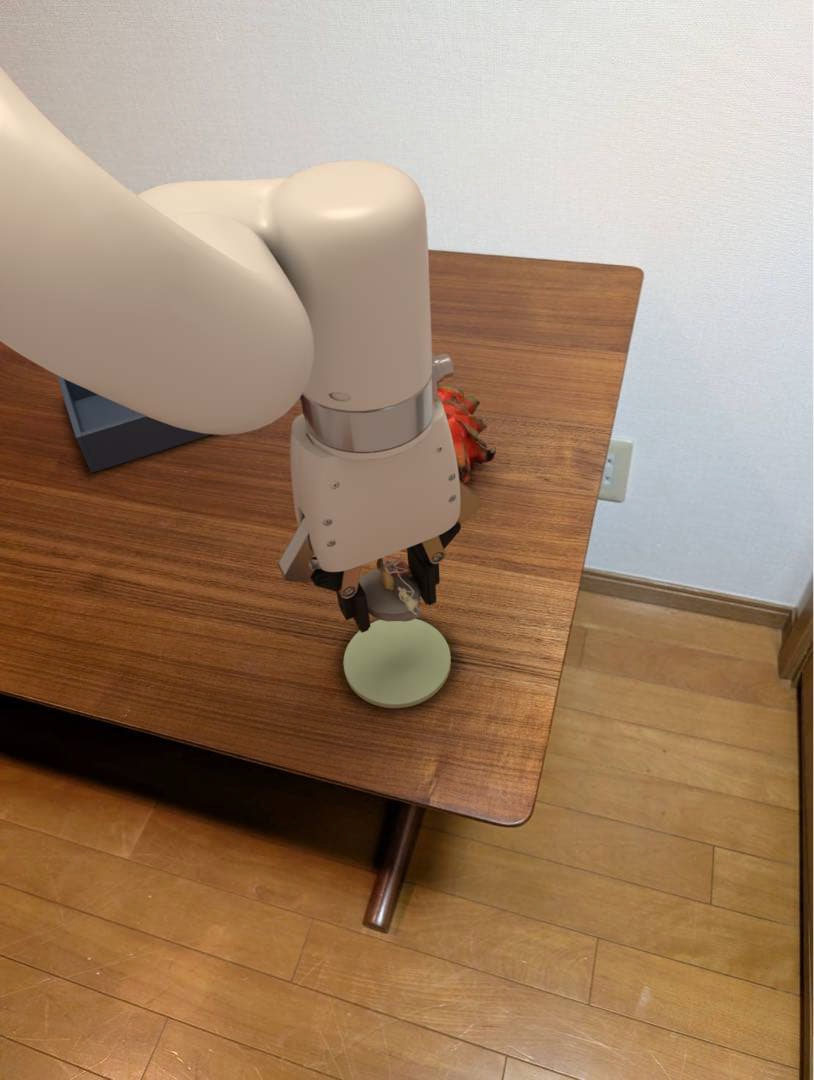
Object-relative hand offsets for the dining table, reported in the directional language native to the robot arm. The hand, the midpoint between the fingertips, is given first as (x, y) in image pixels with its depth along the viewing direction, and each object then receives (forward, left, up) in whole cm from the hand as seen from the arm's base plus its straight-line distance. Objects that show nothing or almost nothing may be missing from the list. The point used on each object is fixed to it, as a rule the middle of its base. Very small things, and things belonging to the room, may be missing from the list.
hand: (390, 602), depth 60 cm
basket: (-10, +42, -7) cm, 44 cm away
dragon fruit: (+14, +19, -8) cm, 25 cm away
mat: (0, 0, -7) cm, 7 cm away
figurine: (0, 0, -1) cm, 1 cm away
